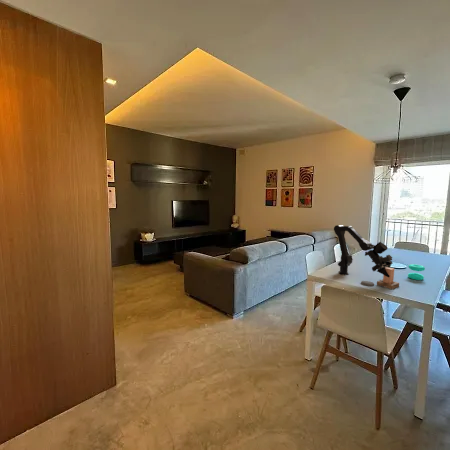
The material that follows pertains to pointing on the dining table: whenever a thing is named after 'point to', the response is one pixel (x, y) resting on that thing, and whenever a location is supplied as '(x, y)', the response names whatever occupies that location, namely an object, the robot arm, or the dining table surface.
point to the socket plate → (391, 286)
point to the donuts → (416, 275)
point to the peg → (391, 274)
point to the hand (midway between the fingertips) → (390, 276)
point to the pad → (367, 283)
